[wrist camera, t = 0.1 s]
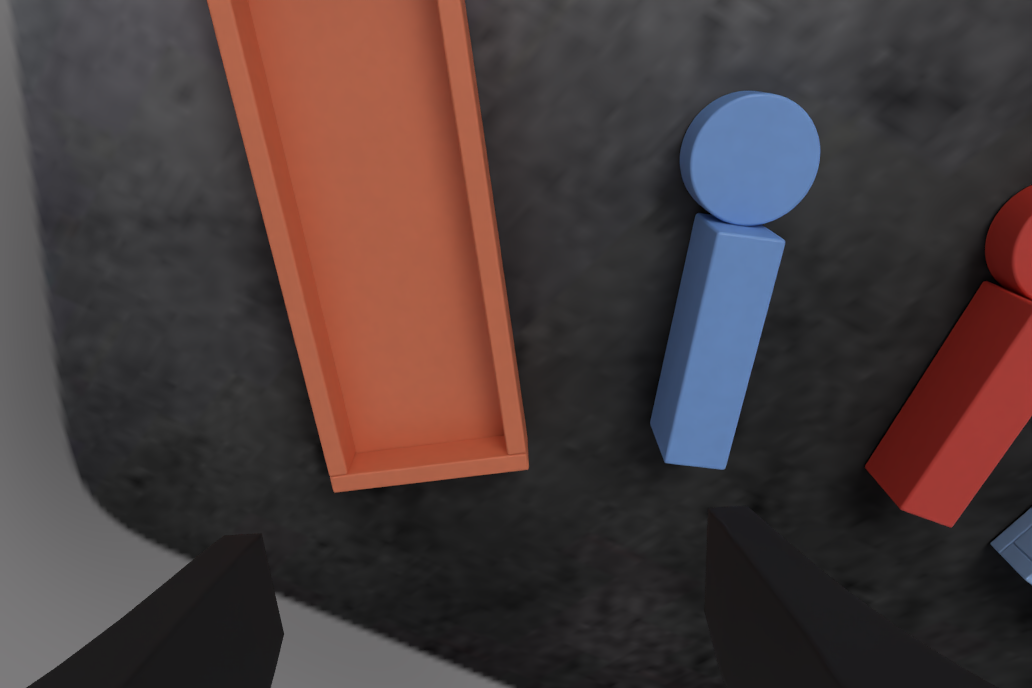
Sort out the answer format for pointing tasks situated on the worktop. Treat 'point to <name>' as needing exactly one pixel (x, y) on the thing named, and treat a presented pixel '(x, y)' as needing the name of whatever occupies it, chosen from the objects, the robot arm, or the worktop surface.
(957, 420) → the red spoon
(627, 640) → the worktop surface
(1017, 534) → the blue rest
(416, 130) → the orange tray
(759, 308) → the blue spoon
